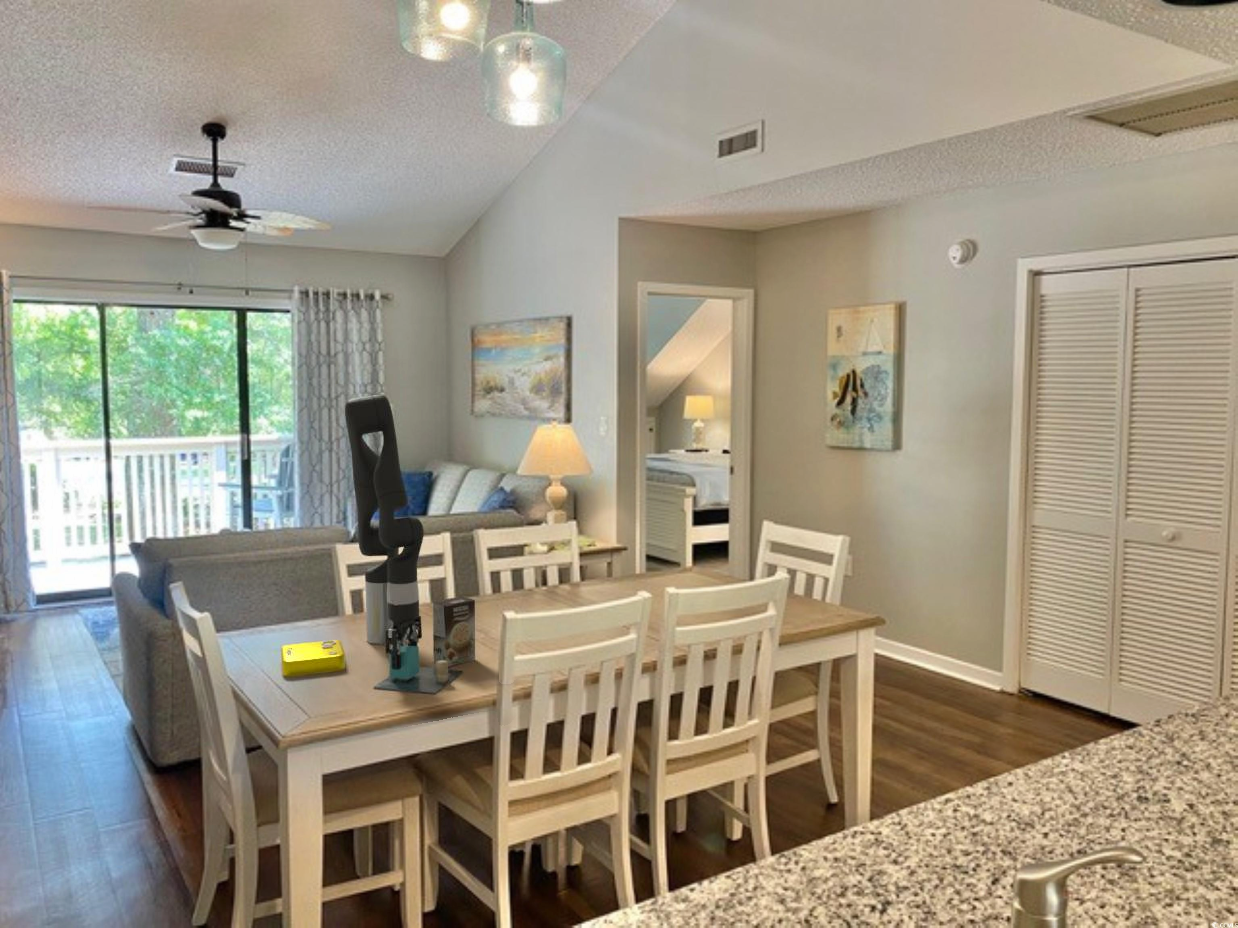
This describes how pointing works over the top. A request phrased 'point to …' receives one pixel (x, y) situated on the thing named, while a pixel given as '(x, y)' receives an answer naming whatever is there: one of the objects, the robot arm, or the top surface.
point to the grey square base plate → (418, 682)
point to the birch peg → (441, 671)
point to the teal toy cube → (407, 663)
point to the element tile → (312, 658)
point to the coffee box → (454, 630)
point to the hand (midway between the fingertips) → (404, 663)
